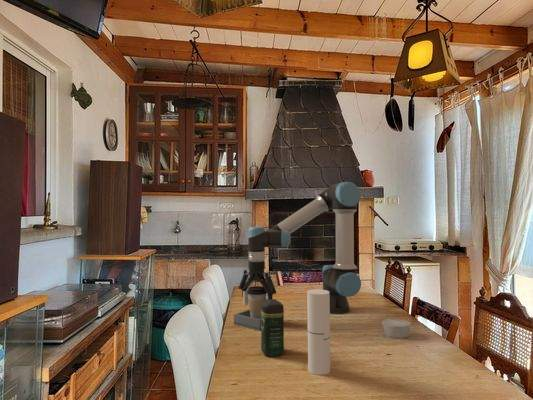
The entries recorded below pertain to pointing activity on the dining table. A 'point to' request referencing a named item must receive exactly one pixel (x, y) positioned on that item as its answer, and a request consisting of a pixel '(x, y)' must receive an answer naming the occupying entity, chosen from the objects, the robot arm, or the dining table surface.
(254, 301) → the coffee cup
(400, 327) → the ramekin
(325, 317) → the cylindrical container
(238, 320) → the tray
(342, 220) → the robot arm
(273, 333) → the coffee jar
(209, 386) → the dining table surface
